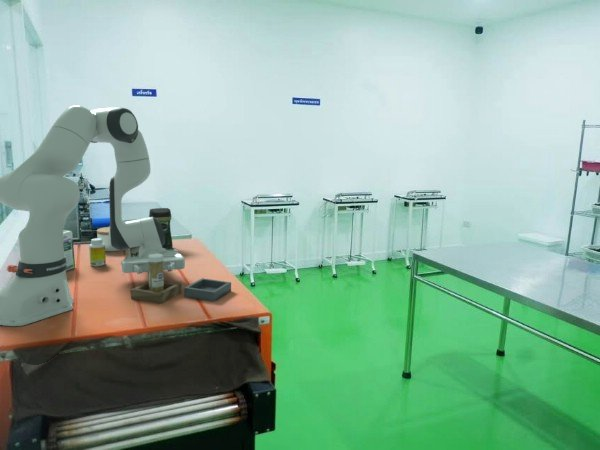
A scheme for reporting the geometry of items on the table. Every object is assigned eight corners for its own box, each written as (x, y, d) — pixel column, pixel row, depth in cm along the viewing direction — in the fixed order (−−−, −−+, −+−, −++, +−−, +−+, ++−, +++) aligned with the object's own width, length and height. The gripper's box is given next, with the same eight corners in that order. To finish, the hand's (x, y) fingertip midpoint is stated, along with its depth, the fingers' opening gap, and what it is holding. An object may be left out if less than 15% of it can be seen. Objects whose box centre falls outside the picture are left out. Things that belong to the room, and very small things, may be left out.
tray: (214, 301, 141) (214, 292, 140) (184, 296, 144) (183, 287, 144) (231, 290, 151) (231, 282, 150) (202, 286, 154) (202, 278, 154)
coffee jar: (170, 245, 210) (169, 206, 206) (174, 249, 203) (173, 209, 200) (148, 247, 205) (147, 207, 202) (151, 251, 199) (150, 210, 195)
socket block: (160, 303, 138) (160, 294, 137) (131, 298, 141) (130, 289, 141) (181, 292, 148) (181, 283, 147) (153, 288, 151) (152, 279, 151)
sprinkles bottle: (158, 298, 142) (156, 257, 139) (146, 296, 143) (144, 255, 141) (167, 294, 146) (166, 254, 143) (155, 292, 147) (154, 252, 145)
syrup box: (65, 272, 166) (62, 233, 163) (51, 270, 167) (48, 232, 164) (75, 267, 171) (73, 230, 169) (61, 266, 173) (59, 229, 170)
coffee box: (146, 261, 183) (145, 222, 180) (130, 263, 180) (128, 223, 176) (140, 256, 190) (139, 218, 187) (124, 258, 187) (122, 219, 184)
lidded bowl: (94, 253, 194) (92, 227, 191) (102, 246, 206) (100, 222, 204) (125, 252, 196) (123, 227, 193) (131, 245, 208) (130, 222, 206)
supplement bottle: (107, 265, 176) (106, 239, 174) (92, 267, 173) (91, 241, 171) (103, 262, 180) (102, 237, 178) (88, 264, 177) (87, 238, 175)
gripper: (120, 252, 155) (120, 262, 142) (181, 249, 162) (186, 258, 149) (121, 270, 156) (121, 282, 143) (182, 265, 163) (187, 277, 150)
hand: (155, 270), depth 146 cm, fingers open, 8 cm apart
